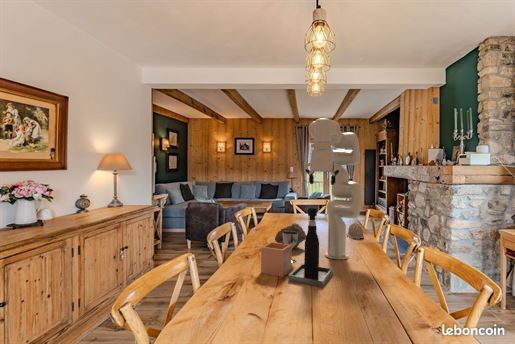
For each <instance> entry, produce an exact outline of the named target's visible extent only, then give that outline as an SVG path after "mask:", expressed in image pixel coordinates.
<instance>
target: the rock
mask: <svg viewBox="0 0 515 344" xmlns="http://www.w3.org/2000/svg"><path fill="white" fill-rule="evenodd" d="M284 231H295V232H298V239H297V243H296V245H295V246H294V247H293V248H292V249H296V248H298V247H299V246H300V244H301V243H302V242H305V239H306V235H307V233H306V232H305V230H304V229H303V227H302V226H301V225H299V224H298V223H292V224H291V225H288V226H286V227H283V228H281V229H280V230H279V231H278V232H276V234H275V236H274V241H275V243H282V244H284V241H283V232H284Z"/></svg>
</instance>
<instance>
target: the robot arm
mask: <svg viewBox="0 0 515 344" xmlns="http://www.w3.org/2000/svg"><path fill="white" fill-rule="evenodd" d="M314 120H315V119H314ZM308 133H309V135H310V137H311V138H312V139H313V141H314V142H313V144H311V145H310V147H311V148H313V149H312V150H311V154H310V161H309V162H308V163H306V164H304V165H303V168H304V170H305V173H307V174H308V176H309V177H308V182H309V185H312V184H314V181H315V180H314V179H315V178H314V173H315V172H324V173H325V172H329V173H330V174H331V176H330V185H331V195H332V197H333V198H336V199H331V200H329V201H328V202H327V203H326V211H327V220H328V222H327V224H328V225H327V227H328V229H327V251H326V252H324V257H326V258H328V259H332V260H341V261H342V260H347V259H349V254H348V253H346V251H347V250H346V248H347V247H346V244H347V238H346V237H347V236H346V234H347V225H346V222H345V221H344V220H343V219H344V218H346V219H357V218H359V216H360V214H361V213H360V212H361V203H362V202H361V201H362V187H361V186H362V185H361V184H360V183H359V182H357V181H349V172H348V171H347V169H346V168H345V167H344V166H357V165H358V164H360V162H361V150H360V143H359V137H358V136H357V134H356V132H342V131H341V126H340V124H339V122H338V121H336V120H334V119H329V118H317V119H316V120H315V121H312V122H310V124H308ZM332 147H333V148H334V149H335V150H333V149H332ZM348 199H349V200H348Z"/></svg>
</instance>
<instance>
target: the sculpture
mask: <svg viewBox="0 0 515 344" xmlns="http://www.w3.org/2000/svg"><path fill="white" fill-rule="evenodd" d="M346 237H347V238H348V237H349V239H351V238H356V239H355V240H361V239H360V238H363V239H364V238H365V236H364V229H363V227H362V226H361V224H359V223H357V222H354V223H351V224H350V225H349V226H348V231H347V232H346Z"/></svg>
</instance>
